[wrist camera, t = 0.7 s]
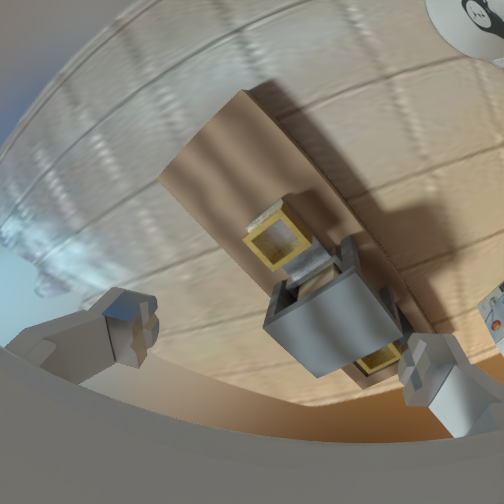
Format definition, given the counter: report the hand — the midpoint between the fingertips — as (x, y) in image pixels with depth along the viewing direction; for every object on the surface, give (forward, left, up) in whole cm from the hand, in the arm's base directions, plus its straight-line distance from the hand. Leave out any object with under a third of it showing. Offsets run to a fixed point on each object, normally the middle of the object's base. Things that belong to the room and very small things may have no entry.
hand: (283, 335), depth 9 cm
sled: (+10, +18, -32) cm, 38 cm away
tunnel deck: (+10, +15, -37) cm, 41 cm away
